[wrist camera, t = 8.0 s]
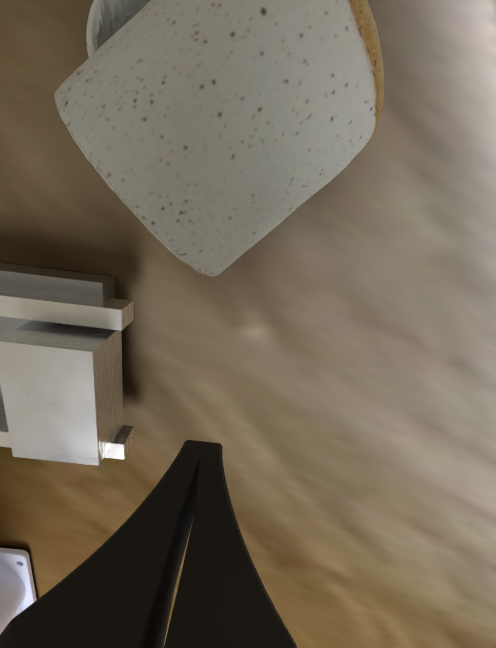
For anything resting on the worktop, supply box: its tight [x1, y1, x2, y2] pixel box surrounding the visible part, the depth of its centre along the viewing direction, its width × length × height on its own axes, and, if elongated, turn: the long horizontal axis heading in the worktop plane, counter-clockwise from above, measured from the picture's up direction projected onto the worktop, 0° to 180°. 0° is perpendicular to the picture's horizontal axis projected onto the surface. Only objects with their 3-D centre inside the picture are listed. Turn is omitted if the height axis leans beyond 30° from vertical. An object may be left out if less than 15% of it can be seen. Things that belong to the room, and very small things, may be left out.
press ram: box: [0, 320, 123, 466], centre depth 15 cm, size 6×4×3 cm, turn 173°
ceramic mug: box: [54, 0, 384, 276], centre depth 10 cm, size 11×8×8 cm
